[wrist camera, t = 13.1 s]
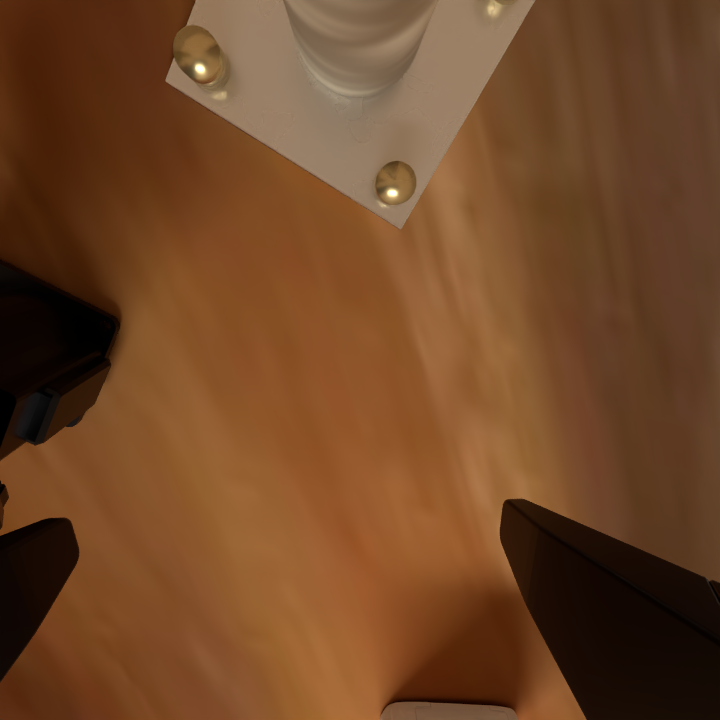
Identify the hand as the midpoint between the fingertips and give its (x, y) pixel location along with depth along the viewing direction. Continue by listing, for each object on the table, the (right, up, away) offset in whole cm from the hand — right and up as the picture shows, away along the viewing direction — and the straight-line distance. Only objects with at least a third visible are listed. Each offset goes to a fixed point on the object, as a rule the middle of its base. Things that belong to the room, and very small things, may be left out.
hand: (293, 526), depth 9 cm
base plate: (+1, +17, +8) cm, 18 cm away
